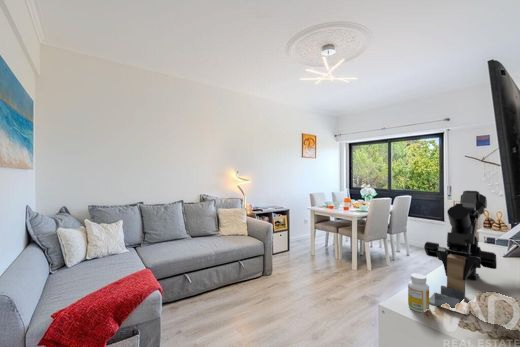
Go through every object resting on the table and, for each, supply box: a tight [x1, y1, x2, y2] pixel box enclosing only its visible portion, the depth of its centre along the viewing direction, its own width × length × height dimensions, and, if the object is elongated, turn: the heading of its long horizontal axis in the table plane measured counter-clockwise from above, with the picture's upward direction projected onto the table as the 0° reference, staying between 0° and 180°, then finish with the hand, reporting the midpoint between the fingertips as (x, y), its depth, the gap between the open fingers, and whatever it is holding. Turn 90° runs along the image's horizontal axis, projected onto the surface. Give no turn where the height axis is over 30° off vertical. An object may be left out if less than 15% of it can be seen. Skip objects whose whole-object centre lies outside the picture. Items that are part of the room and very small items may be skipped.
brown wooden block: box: [446, 254, 466, 293], centre depth 82 cm, size 4×4×13 cm
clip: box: [429, 285, 466, 308], centre depth 78 cm, size 8×10×4 cm
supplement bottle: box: [407, 272, 430, 313], centre depth 76 cm, size 5×5×10 cm
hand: (455, 277), depth 81 cm, fingers closed on brown wooden block, 4 cm apart
